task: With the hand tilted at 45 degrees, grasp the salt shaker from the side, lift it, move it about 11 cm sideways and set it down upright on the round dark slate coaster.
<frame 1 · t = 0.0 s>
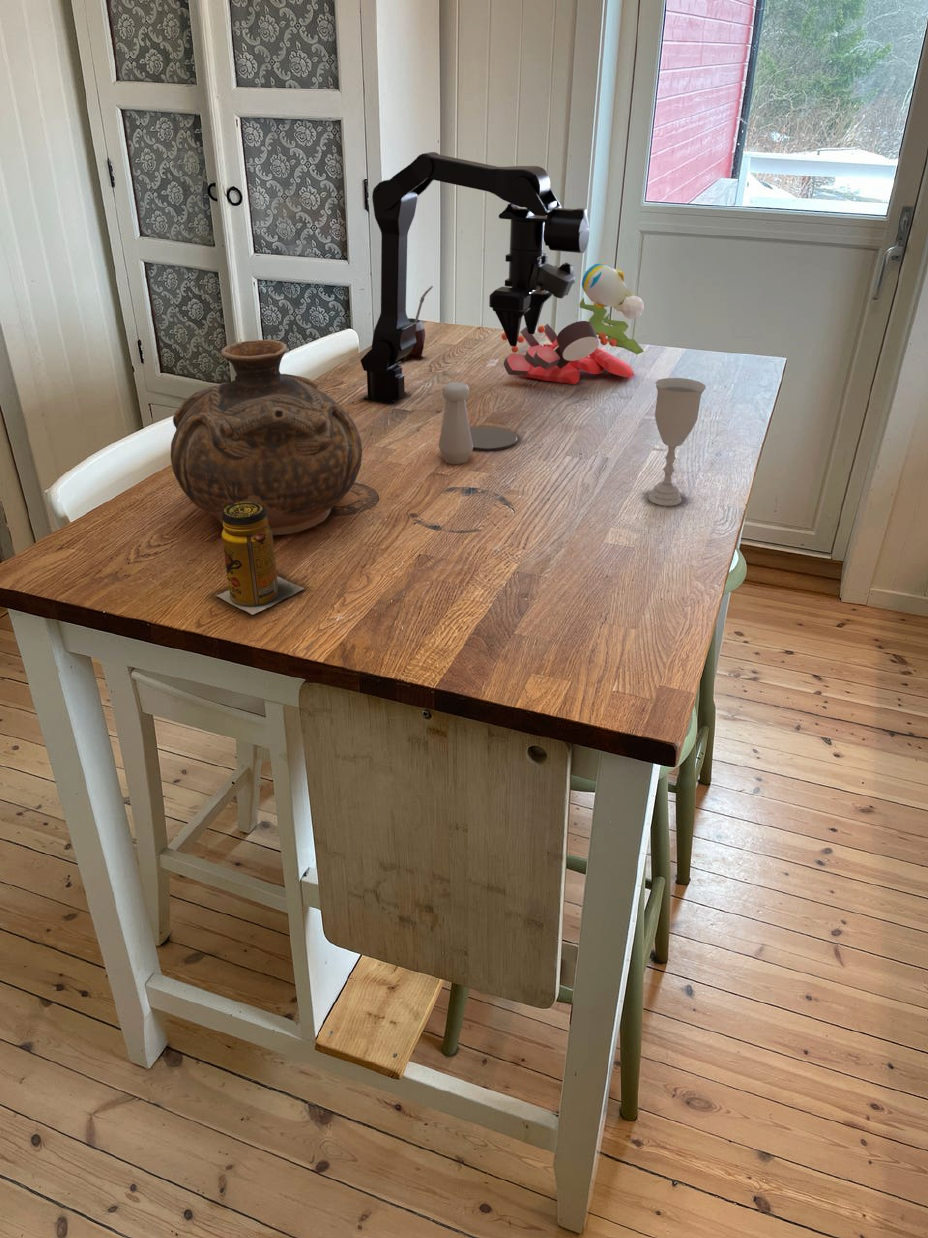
hand: (522, 339, 169), 15 cm above the table, tool pointing down, fingers open, 9 cm apart
salt shaker: (455, 460, 159), on the table
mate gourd: (411, 357, 211), on the table
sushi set: (575, 377, 200), on the table
vessel: (273, 514, 140), on the table
coaster: (486, 439, 167), on the table
condiment: (261, 595, 119), on the table
chalice: (664, 500, 146), on the table
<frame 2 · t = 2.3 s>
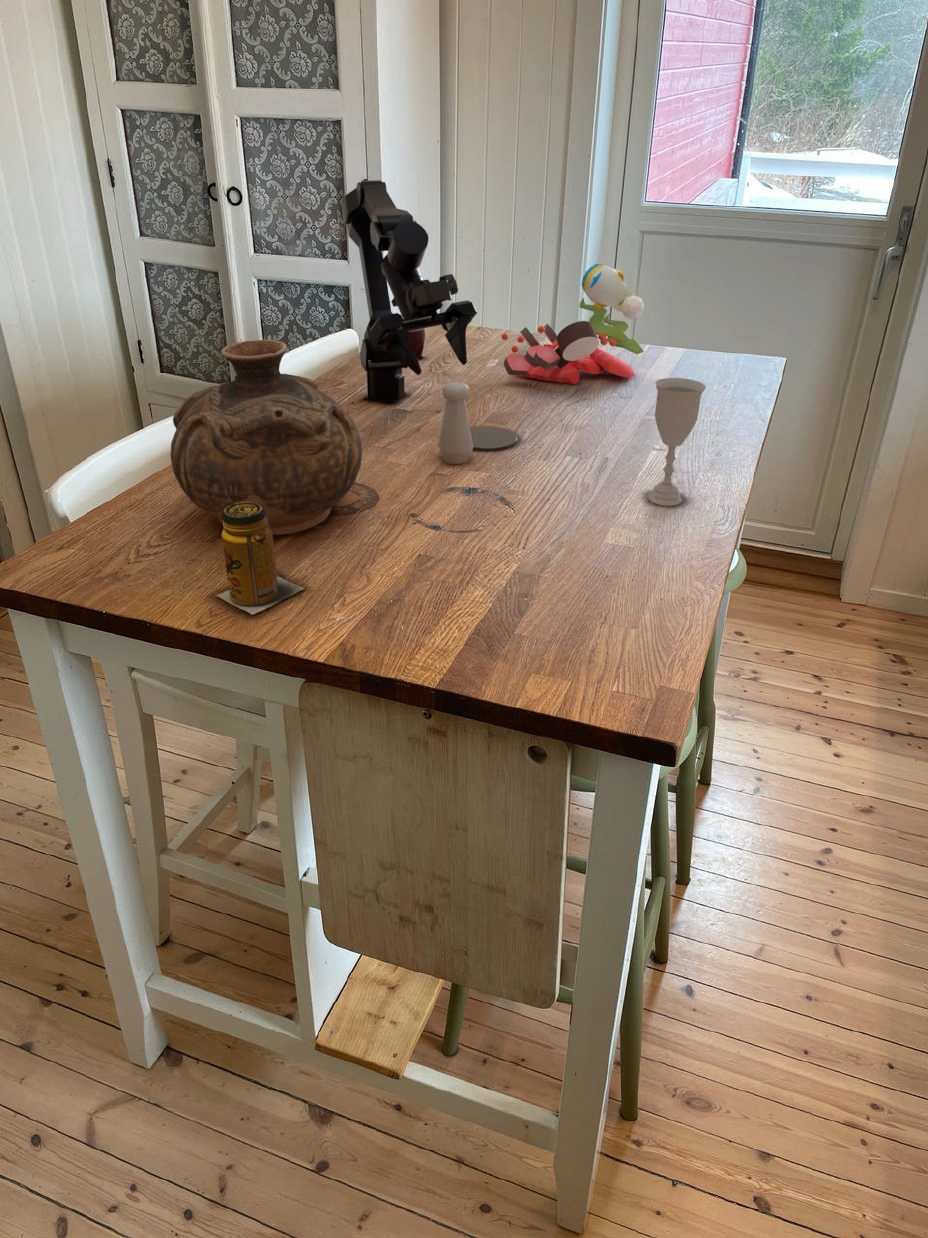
hand: (442, 368, 158), 13 cm above the table, tool tilted 40°, fingers open, 9 cm apart
nothing on the table moved.
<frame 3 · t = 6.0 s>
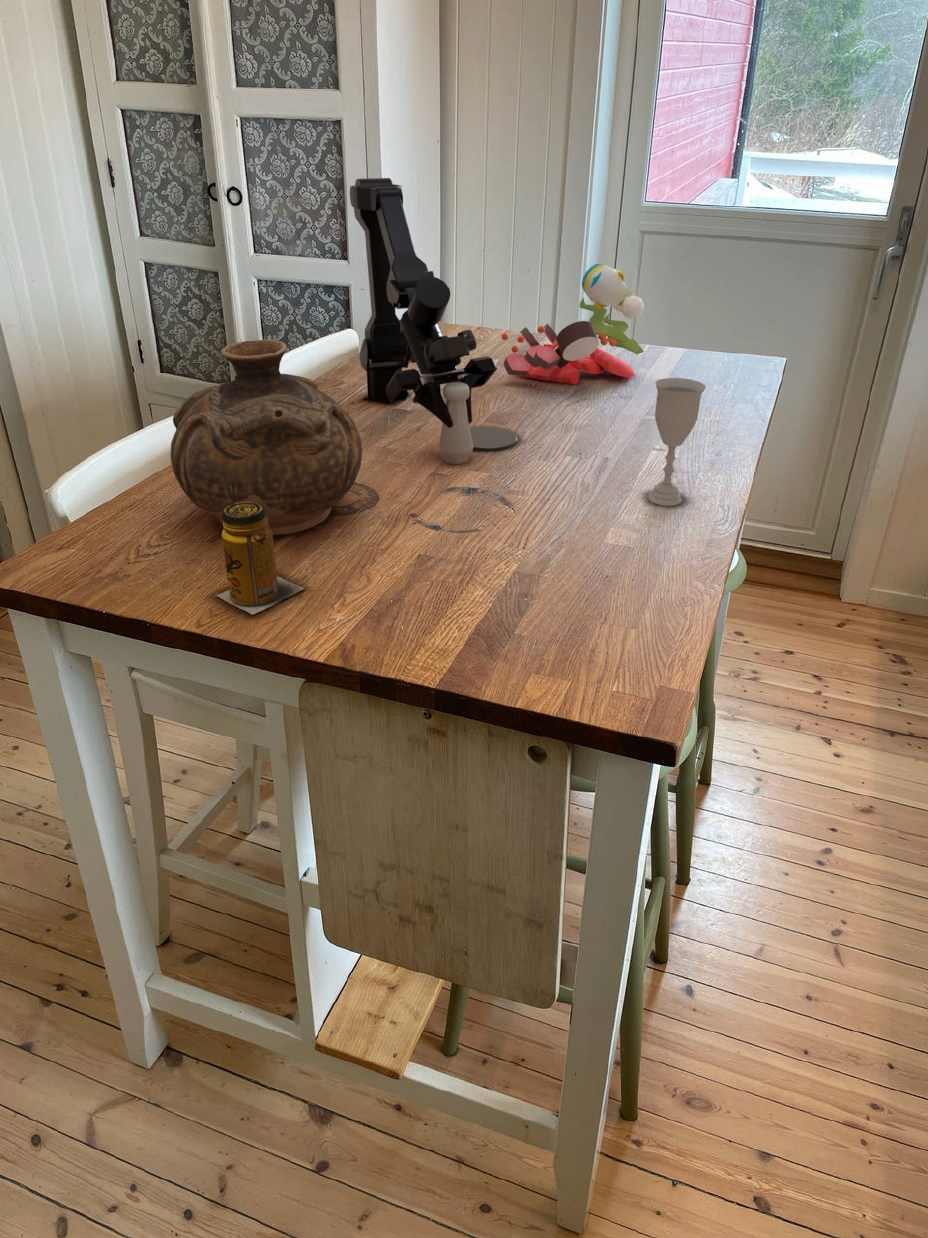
hand: (460, 424, 154), 7 cm above the table, tool tilted 45°, fingers closed on salt shaker, 3 cm apart
salt shaker: (455, 460, 159), on the table, touching gripper
everything else where it was.
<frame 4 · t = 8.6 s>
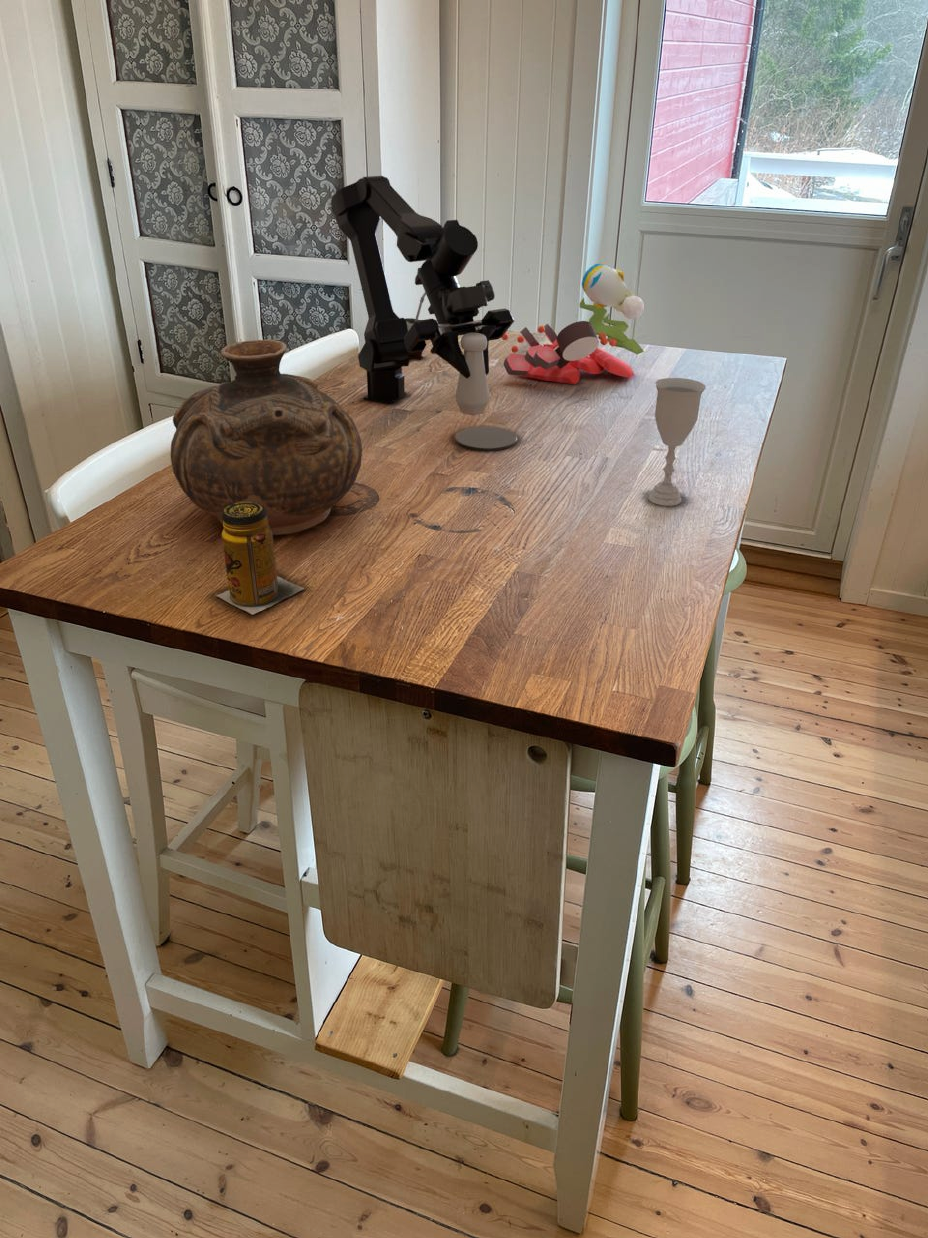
hand: (477, 375, 155), 13 cm above the table, tool tilted 45°, fingers closed on salt shaker, 3 cm apart
salt shaker: (472, 412, 160), point 6 cm above the table, touching gripper
everything else where it was.
when the fingers open (7 cm above the table, at t = 11.3 s): salt shaker stays where it is, resting on coaster.
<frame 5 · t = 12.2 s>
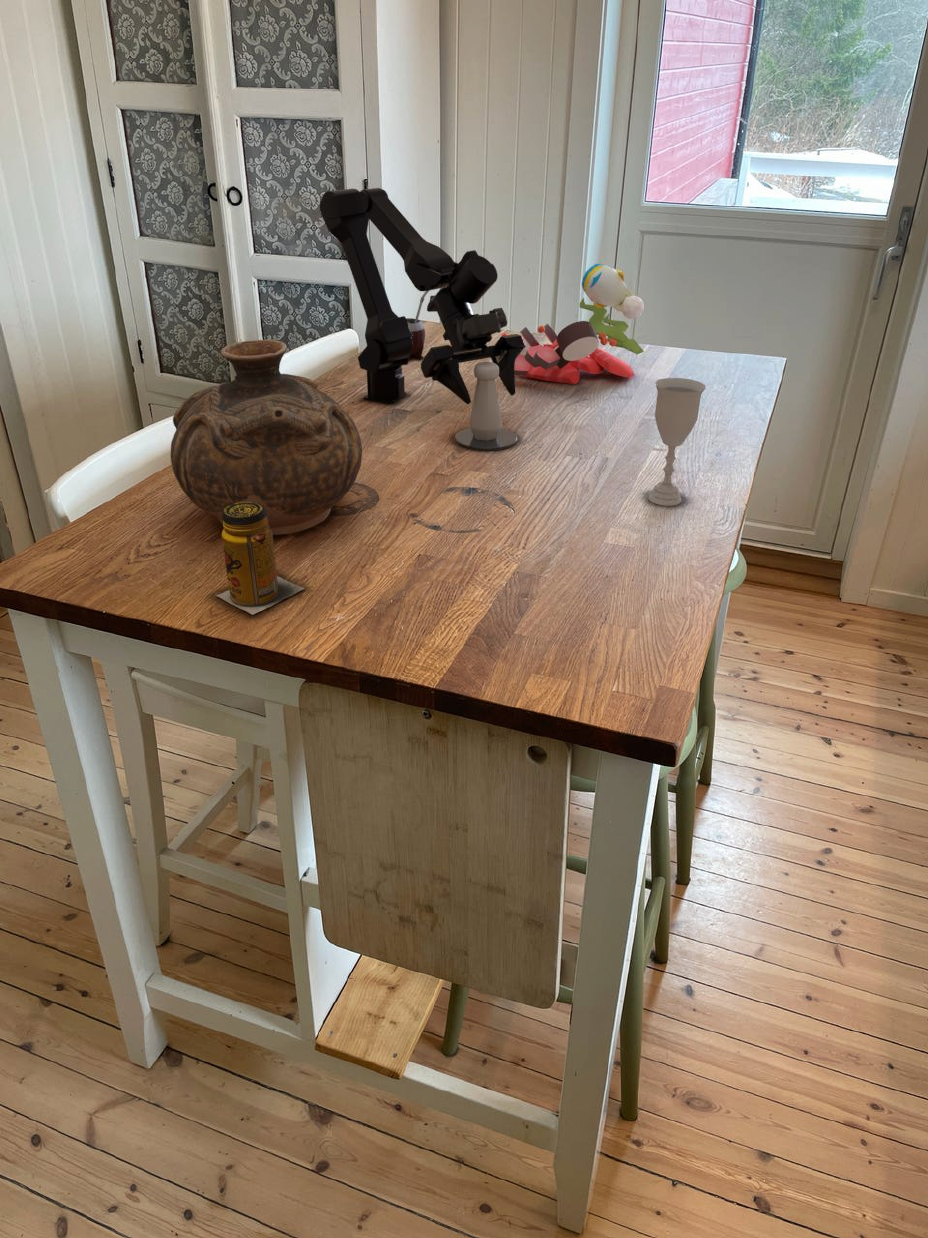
hand: (491, 398, 162), 8 cm above the table, tool tilted 45°, fingers open, 9 cm apart
salt shaker: (485, 437, 167), resting on coaster
everything else where it was.
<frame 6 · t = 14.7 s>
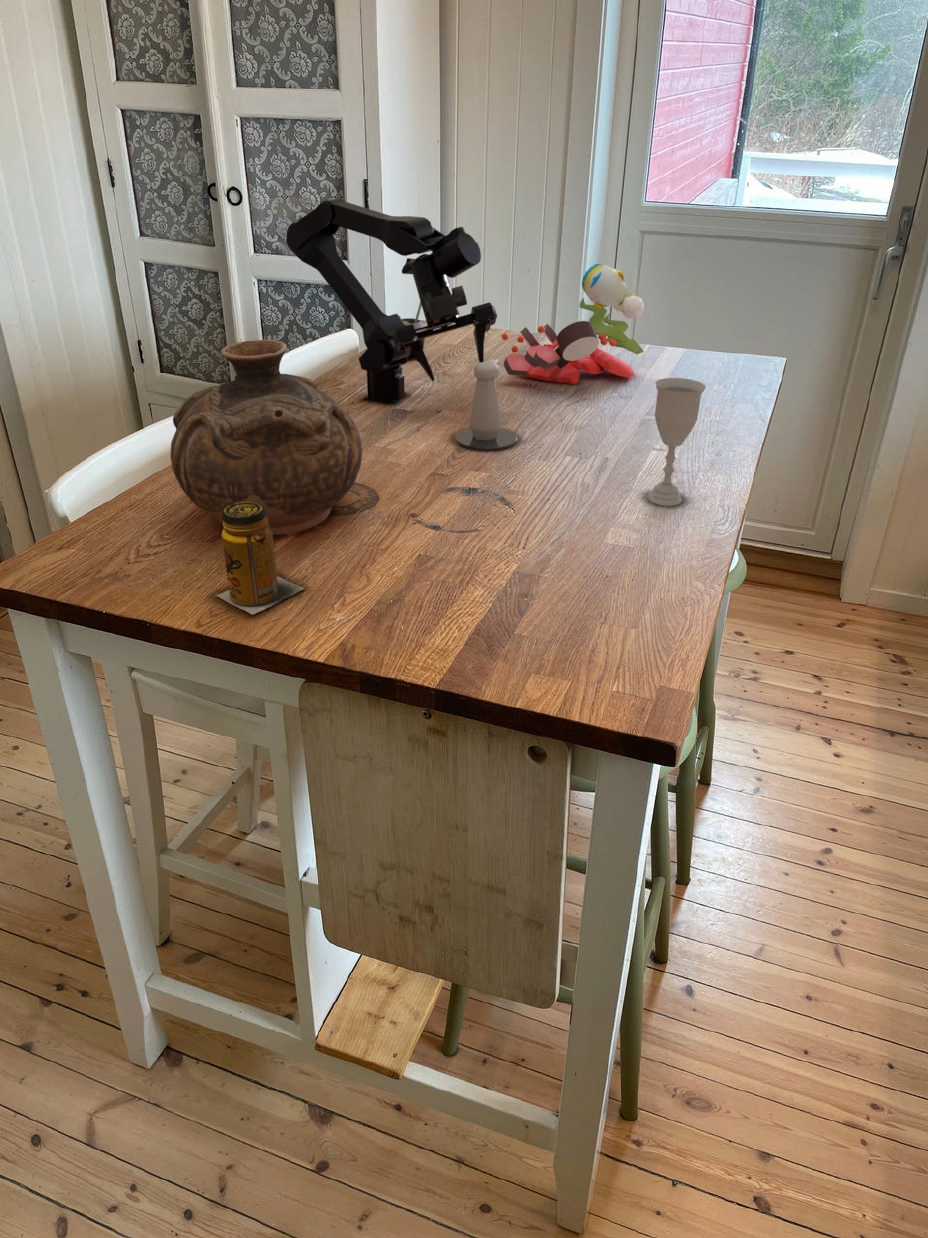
hand: (457, 373, 169), 9 cm above the table, tool tilted 35°, fingers open, 9 cm apart
nothing on the table moved.
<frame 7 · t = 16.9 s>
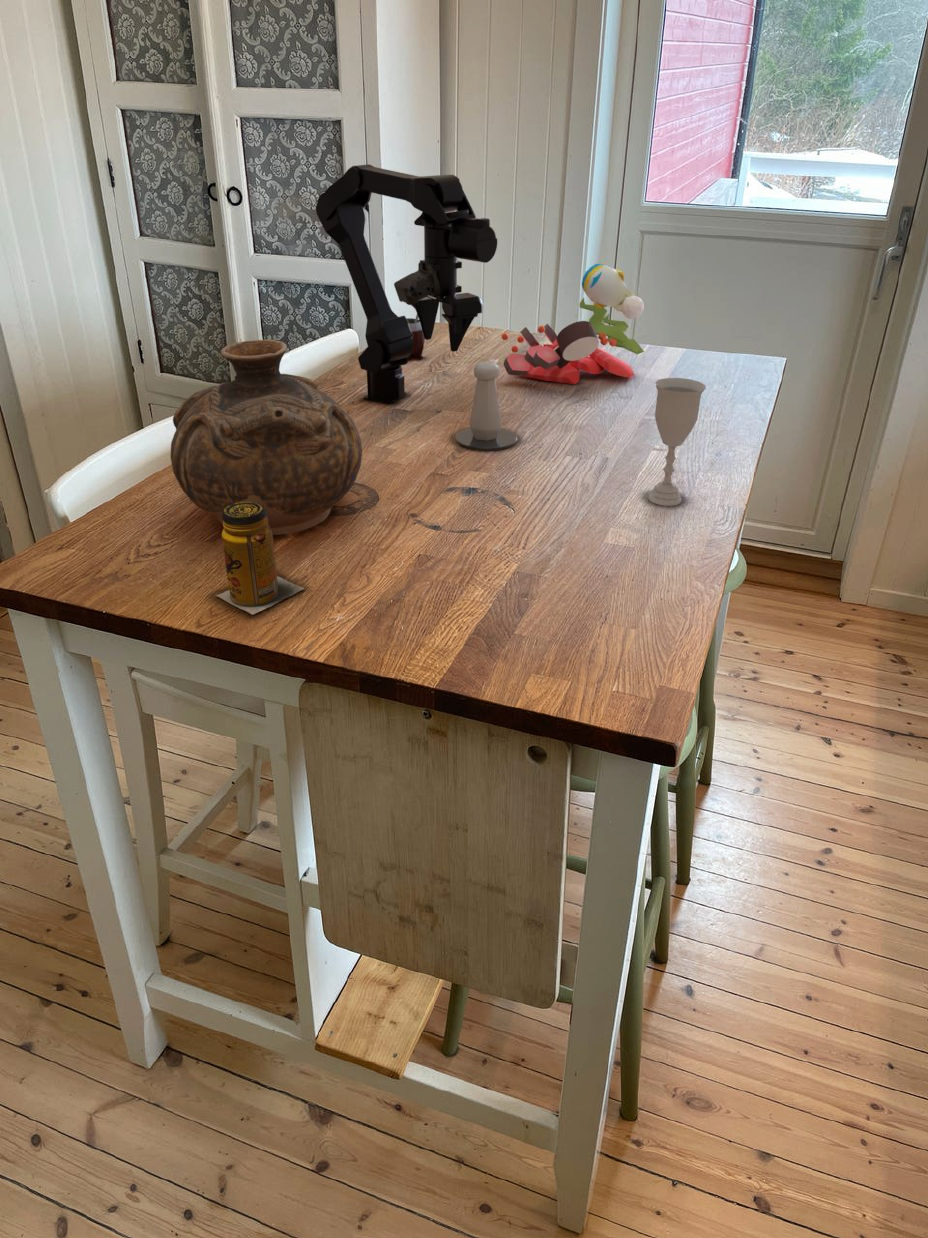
hand: (440, 345, 171), 13 cm above the table, tool pointing down, fingers open, 9 cm apart
nothing on the table moved.
at the end: salt shaker 0.2 cm off-centre on the coaster, point 0.3 cm above the coaster's base; salt shaker tilted 0°; the gripper is holding nothing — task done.
